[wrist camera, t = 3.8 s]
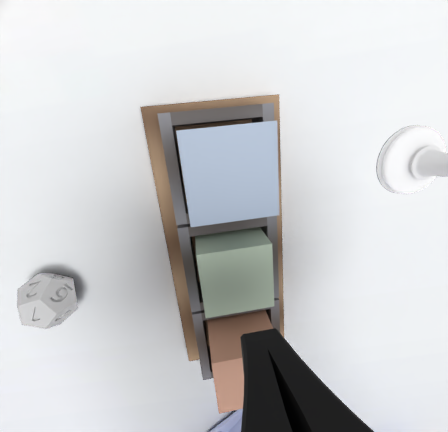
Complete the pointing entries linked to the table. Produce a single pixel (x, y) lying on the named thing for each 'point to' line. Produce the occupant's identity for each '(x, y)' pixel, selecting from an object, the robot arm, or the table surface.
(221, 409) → the peach matte cube
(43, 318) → the game die
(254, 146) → the block
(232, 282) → the pale green cube
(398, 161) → the chess piece
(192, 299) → the board
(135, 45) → the table surface
